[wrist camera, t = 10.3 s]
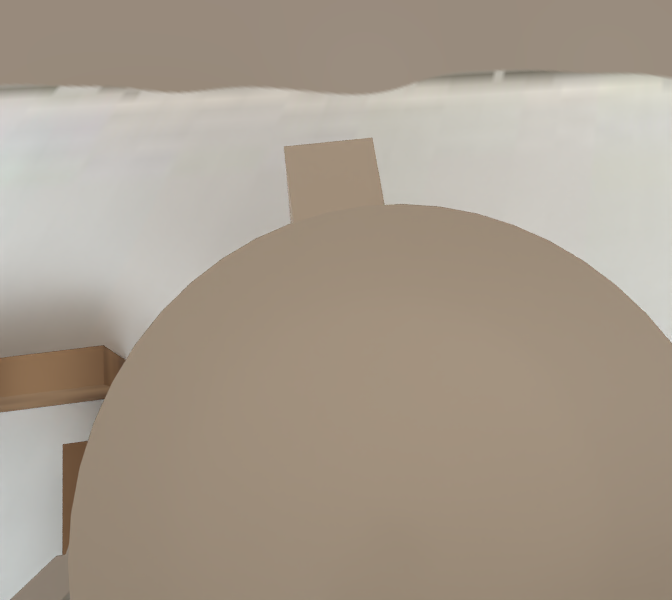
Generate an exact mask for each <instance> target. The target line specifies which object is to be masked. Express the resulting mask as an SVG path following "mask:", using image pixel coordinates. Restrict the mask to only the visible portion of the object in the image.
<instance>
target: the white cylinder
mask: <svg viewBox="0 0 672 600" xmlns="http://www.w3.org/2000/svg"><path fill="white" fill-rule="evenodd" d="M284 153H285V164H286V175H287V186H288V198H289V209H290V220H291V224H288V225H286V226H284V227H281V228H279V229H277V230H275V231H272V232H270V233H268V234H265V235H263V236H261V237H259V238H256V239H255V240H253V241H251V242H249V243H248V244H246V245H244V246H243V247H241V248H239V249H238V250H236V251H234V252H232V253H231V254H229V255H227V256H226V257H224V258H222V259H221V260H220V261H218V262H217V263H216V264H215V265H213V266H212V267H211V268H209V269H208V270H207V271H205V272H204V273H203V274H202V275H200V276H199V277H198V278H196V279H195V280H194V281H192V282H191V283H190V284H189V285H188V286H187V287H186V288H185V289H184V290H183V291H182V292H181V293H180V294H179V295H178V296H177V297H176V298H175V299H174V300H173V301H172V302H171V303H170V304H169V305H168V306H167V307H166V308H165V309H164V310H163V311H162V312H161V313H160V314H159V315H158V317H157V318H156V319H155V320H154V322H153V323H152V324H151V325H150V327H149V328H148V329H147V330H146V332H145V333H144V334H143V336H142V337H141V338H140V339H139V341H138V342H137V343H136V344H135V346H134V348H133V349H132V351H131V352H130V354H129V356H128V357H127V359H126V361H125V362H124V364H123V365H122V367H121V369H120V370H119V372H118V374H117V375H116V377H115V379H114V380H113V382H112V384H111V386H110V388H109V391H108V393H107V395H106V397H105V399H104V402H103V404H102V406H101V408H100V410H99V412H98V415H97V417H96V419H95V421H94V424H93V427H92V430H91V433H90V436H89V440H88V443H87V446H86V449H85V452H84V455H83V458H82V462H81V465H80V469H79V474H78V479H77V485H76V490H75V495H74V501H73V506H72V511H71V522H70V538H69V554H68V574H69V590H70V600H672V343H671V342H670V341H669V339H668V338H667V337H666V336H665V335H664V334H663V332H662V331H661V330H660V329H659V328H658V327H657V325H656V324H655V323H654V322H653V321H652V320H651V318H650V317H649V316H648V315H647V314H646V313H645V312H644V311H643V310H642V309H641V308H640V307H639V306H638V305H637V304H636V303H635V302H633V301H632V300H631V299H630V298H629V297H628V296H627V295H626V294H625V293H624V292H623V291H622V290H621V289H620V288H619V287H617V286H616V285H615V284H614V283H612V282H611V281H610V280H608V279H607V278H606V277H604V276H603V275H602V274H600V273H599V272H598V271H596V270H595V269H594V268H592V267H591V266H590V265H588V264H587V263H586V262H584V261H583V260H581V259H579V258H578V257H576V256H574V255H573V254H571V253H569V252H567V251H566V250H564V249H562V248H561V247H559V246H557V245H556V244H554V243H552V242H550V241H548V240H546V239H544V238H542V237H539V236H537V235H535V234H533V233H530V232H528V231H526V230H524V229H521V228H519V227H517V226H515V225H512V224H508V223H505V222H502V221H499V220H496V219H492V218H489V217H486V216H483V215H480V214H476V213H471V212H465V211H460V210H455V209H449V208H444V207H437V206H422V205H408V204H395V205H384V200H383V194H382V189H381V183H380V178H379V172H378V167H377V161H376V156H375V150H374V145H373V139H372V138H365V139H355V140H345V141H335V142H325V143H315V144H305V145H295V146H285V147H284Z"/></svg>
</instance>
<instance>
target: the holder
mask: <svg viewBox="0 0 672 600" xmlns="http://www.w3.org/2000/svg"><path fill="white" fill-rule="evenodd" d="M125 361H126V360H124V359H123V358H121V357H120V356H118V355H117V354H116V353H114V352H113V351H111V350H110V349H108V348H107V347H105V346H104V345H103V346H94V347H86V348H78V349H70V350H61V351H53V352H45V353H37V354H28V355H20V356H12V357H4V358H0V412H7V411H15V410H22V409H30V408H38V407H46V406H53V405H61V404H69V403H77V402H85V401H92V400H100V399H105V397H106V395H107V393H108V391H109V388H110V386H111V384H112V382H113V380H114V379H115V377H116V375H117V374H118V372H119V370H120V369H121V367H122V365H123V364H124V362H125ZM87 443H88V441H84V442H76V443H69V444H63V551H62V555H65V554H66V552H67V549H68V546H69V538H70V522H71V511H72V506H73V501H74V495H75V490H76V485H77V479H78V474H79V469H80V465H81V462H82V458H83V455H84V452H85V449H86V446H87Z"/></svg>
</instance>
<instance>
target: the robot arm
mask: <svg viewBox="0 0 672 600" xmlns="http://www.w3.org/2000/svg"><path fill="white" fill-rule="evenodd" d="M68 554H69V546H68V549H67V552H66V554H65V555H59V556H56V557H55V558H54V559H53V560H51V561H50V562H49V563H48V564H47V565H46V566H45V567H44V568H43V569H42V570H41V571H40V572H39V573H38V574H37V575H36V576H35V577H34V578H33V579H31V580H30V581H29V582H28V583H27V584H26V585H25V586H24V587H23V588H22V589H21V590H20V591H19V592H18V593H17V594H16V595H15V596H14V597H13V598H11V599H10V600H70V590H69V574H68Z"/></svg>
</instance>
